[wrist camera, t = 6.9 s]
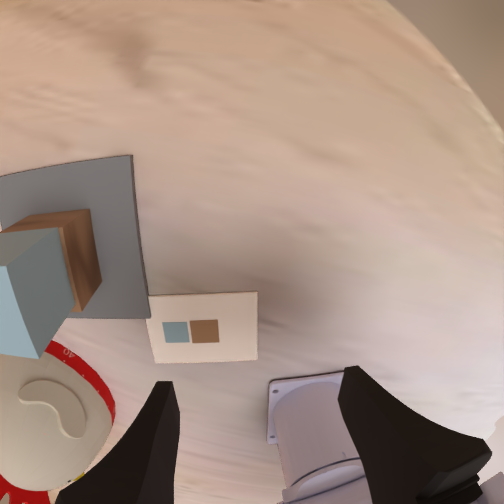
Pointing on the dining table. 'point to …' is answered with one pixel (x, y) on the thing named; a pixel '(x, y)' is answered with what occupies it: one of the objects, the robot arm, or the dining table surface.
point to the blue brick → (32, 291)
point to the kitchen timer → (49, 422)
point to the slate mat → (103, 222)
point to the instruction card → (203, 327)
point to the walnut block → (71, 249)
